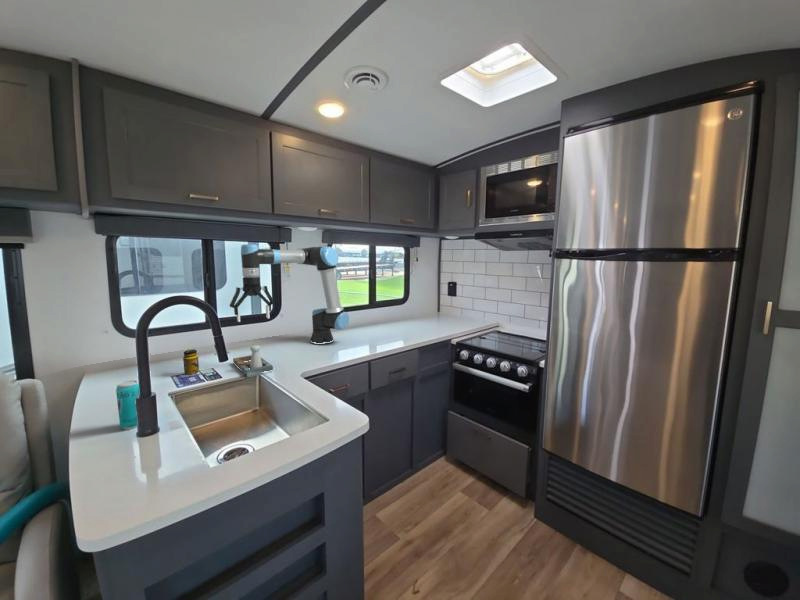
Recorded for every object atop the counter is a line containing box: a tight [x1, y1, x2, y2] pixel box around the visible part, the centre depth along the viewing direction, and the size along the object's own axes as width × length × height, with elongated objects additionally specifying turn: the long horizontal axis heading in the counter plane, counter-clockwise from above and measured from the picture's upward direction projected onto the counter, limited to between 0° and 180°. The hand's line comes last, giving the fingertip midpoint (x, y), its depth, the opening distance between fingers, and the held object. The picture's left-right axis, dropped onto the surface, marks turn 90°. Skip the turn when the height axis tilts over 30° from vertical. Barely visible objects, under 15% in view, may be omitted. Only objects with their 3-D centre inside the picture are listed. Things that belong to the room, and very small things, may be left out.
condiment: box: [182, 349, 200, 375], centre depth 153 cm, size 7×8×12 cm
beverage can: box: [115, 379, 140, 430], centre depth 105 cm, size 6×6×15 cm
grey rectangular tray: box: [232, 354, 274, 378], centre depth 164 cm, size 26×12×3 cm, turn 41°
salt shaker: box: [250, 344, 262, 369], centre depth 158 cm, size 6×6×13 cm
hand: (253, 319), depth 156 cm, fingers open, 13 cm apart
